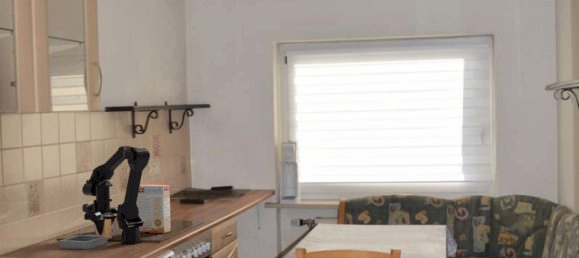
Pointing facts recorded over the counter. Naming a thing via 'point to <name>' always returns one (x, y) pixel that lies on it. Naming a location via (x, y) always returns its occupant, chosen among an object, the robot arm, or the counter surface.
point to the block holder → (83, 242)
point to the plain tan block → (106, 229)
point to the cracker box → (154, 208)
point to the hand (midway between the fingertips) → (103, 233)
